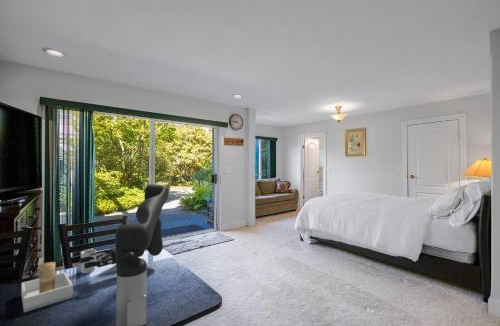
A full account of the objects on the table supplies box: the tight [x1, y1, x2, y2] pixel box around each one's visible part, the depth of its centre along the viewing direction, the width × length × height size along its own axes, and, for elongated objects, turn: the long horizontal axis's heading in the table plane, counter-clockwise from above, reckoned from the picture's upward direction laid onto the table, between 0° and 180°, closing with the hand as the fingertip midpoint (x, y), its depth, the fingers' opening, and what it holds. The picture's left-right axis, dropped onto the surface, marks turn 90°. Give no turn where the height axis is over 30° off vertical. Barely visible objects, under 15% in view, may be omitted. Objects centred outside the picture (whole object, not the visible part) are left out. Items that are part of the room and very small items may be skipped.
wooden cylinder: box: [39, 261, 56, 294], centre depth 100 cm, size 5×5×12 cm
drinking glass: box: [80, 248, 97, 274], centre depth 124 cm, size 7×7×10 cm
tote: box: [20, 271, 74, 313], centre depth 100 cm, size 18×15×5 cm
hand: (82, 263), depth 108 cm, fingers open, 8 cm apart
